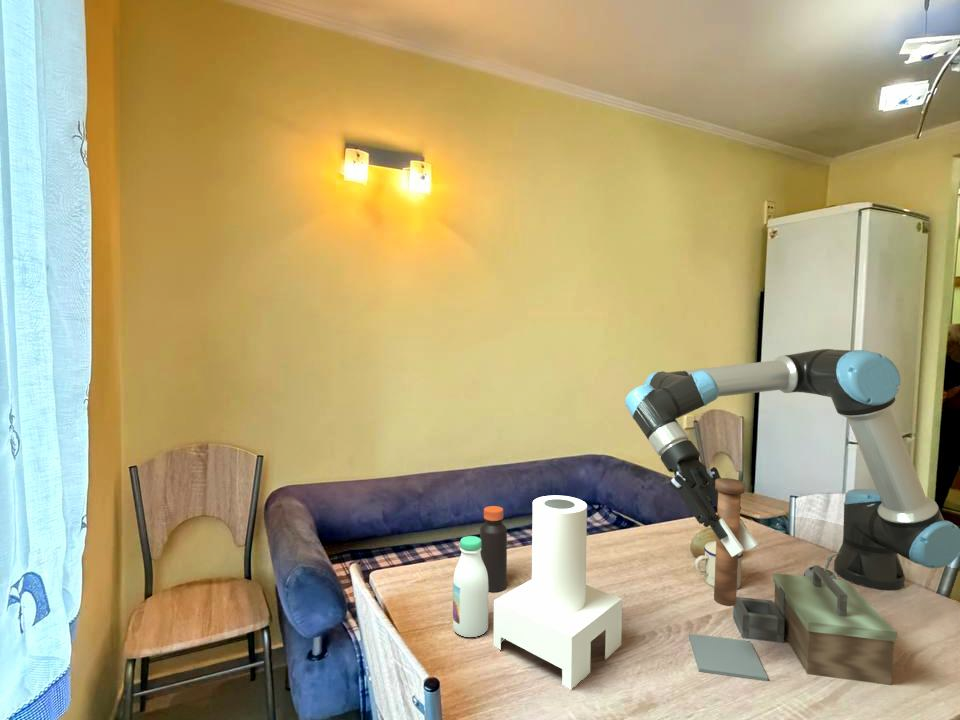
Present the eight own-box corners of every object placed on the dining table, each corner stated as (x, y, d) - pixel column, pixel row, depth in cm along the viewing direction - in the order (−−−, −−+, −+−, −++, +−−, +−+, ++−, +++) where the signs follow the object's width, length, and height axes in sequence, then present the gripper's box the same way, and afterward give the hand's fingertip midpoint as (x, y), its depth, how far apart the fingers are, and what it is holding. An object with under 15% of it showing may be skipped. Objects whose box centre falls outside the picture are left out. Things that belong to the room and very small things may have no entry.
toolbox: (843, 625, 117) (846, 561, 116) (894, 686, 97) (898, 609, 96) (730, 612, 122) (732, 551, 122) (756, 667, 102) (758, 595, 101)
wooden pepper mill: (735, 595, 107) (740, 479, 105) (742, 609, 102) (747, 486, 100) (708, 592, 108) (712, 477, 106) (713, 605, 103) (718, 484, 101)
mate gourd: (807, 593, 131) (809, 534, 131) (844, 605, 126) (847, 543, 125) (798, 604, 126) (800, 542, 125) (837, 617, 121) (839, 553, 120)
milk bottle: (492, 623, 118) (493, 535, 116) (481, 642, 110) (481, 548, 109) (460, 616, 120) (460, 530, 119) (447, 635, 113) (447, 543, 112)
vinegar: (475, 589, 133) (476, 511, 131) (485, 578, 139) (485, 503, 138) (501, 595, 130) (501, 515, 129) (510, 582, 136) (510, 506, 135)
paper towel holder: (493, 647, 109) (494, 504, 107) (547, 612, 122) (548, 484, 121) (571, 690, 96) (573, 528, 94) (621, 645, 110) (624, 503, 108)
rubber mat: (749, 643, 110) (749, 641, 110) (767, 681, 99) (767, 677, 98) (688, 636, 113) (688, 633, 113) (698, 671, 101) (699, 668, 101)
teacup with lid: (728, 573, 142) (730, 531, 141) (749, 590, 133) (751, 545, 132) (686, 575, 141) (687, 533, 140) (704, 592, 132) (705, 547, 131)
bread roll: (750, 561, 150) (751, 533, 149) (702, 565, 147) (703, 537, 146) (728, 547, 159) (729, 521, 159) (683, 551, 156) (683, 525, 156)
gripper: (688, 453, 121) (756, 549, 108) (637, 462, 112) (704, 569, 99) (710, 434, 116) (783, 532, 103) (658, 442, 107) (732, 551, 94)
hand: (744, 550), depth 101 cm, fingers closed on wooden pepper mill, 4 cm apart
